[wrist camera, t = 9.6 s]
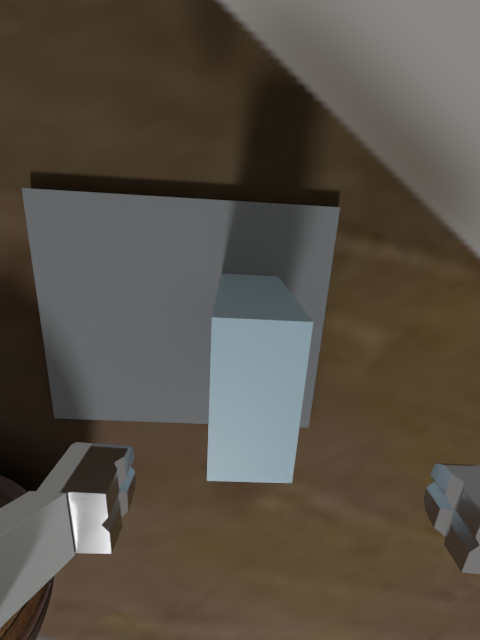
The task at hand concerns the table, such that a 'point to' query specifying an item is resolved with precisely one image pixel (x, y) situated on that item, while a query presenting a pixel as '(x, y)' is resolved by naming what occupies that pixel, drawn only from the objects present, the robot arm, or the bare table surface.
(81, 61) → the table surface
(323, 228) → the mat
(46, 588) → the wooden sphere
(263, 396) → the block
